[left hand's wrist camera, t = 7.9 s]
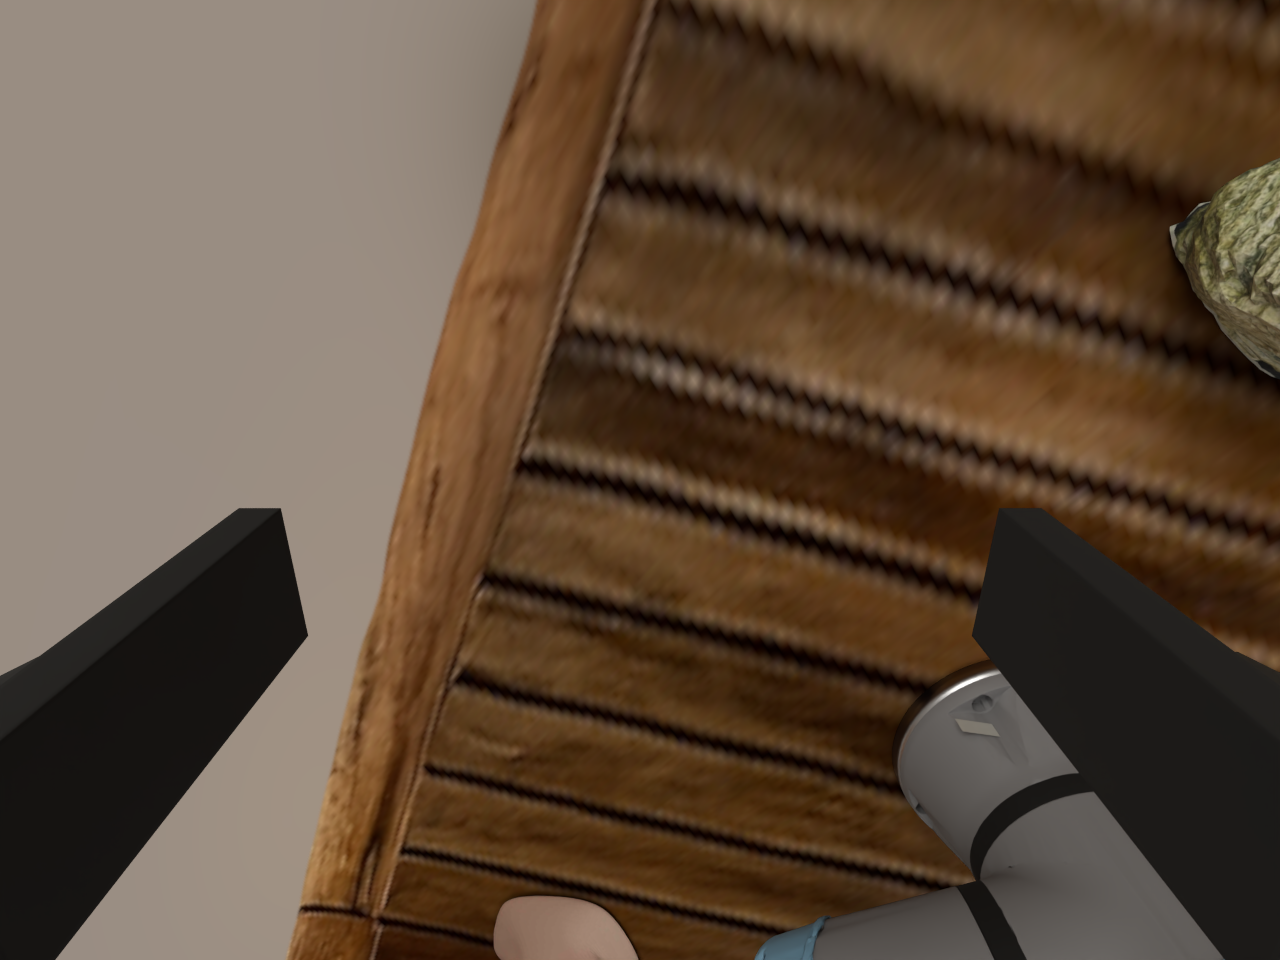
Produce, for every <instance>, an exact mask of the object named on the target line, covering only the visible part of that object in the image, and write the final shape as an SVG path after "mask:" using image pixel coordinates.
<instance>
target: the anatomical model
mask: <svg viewBox="0 0 1280 960" xmlns="http://www.w3.org/2000/svg"><path fill="white" fill-rule="evenodd" d="M494 949H495V952H496V954H497V955H498V957H499V958H500V959H501V960H638V957H637V955H636V952H635V950H634V948H633V946H632V944H631V943H630V941H629V939H628V938H627V936H626V934H625V933H624V931H623V930H622V928H621V927H620V926H619V924H618V923H617V922H616V921H615V919H614V918H613V917H612V916H611V915H610V914H609V913H608V912H606V911H605V910H604V909H603V908H601V907H599V906H597V905H596V904H593V903H591V902H588V901H584V900H580V899H575V898H568V897H559V896H524V897H517V898H513V899H511V900H508V901H507V902H506V903H504V904H503V906H502V907H501V909H500V911H499V914H498V917H497V921H496V925H495V929H494Z"/></svg>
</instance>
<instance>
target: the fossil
mask: <svg viewBox="0 0 1280 960" xmlns="http://www.w3.org/2000/svg"><path fill="white" fill-rule="evenodd" d="M1170 234H1171V239H1172V244H1173V248H1174V251H1175V254H1176V257H1177V258H1178V260H1179V261H1180V262H1181V263H1182V264H1183V266H1184V268H1185V270H1186V272H1187V275H1188V277H1189V280H1190V283H1191V286H1192V289H1193V291H1194V292H1195V293H1196V295H1197V297H1198V298H1199V299H1200V300H1201V301H1202V302H1203V304H1204V305H1205V307H1206V308H1207V309H1208V310H1209V311H1210V312H1211V313H1212V314H1213V315H1214V317H1215V319H1216V321H1217V322H1218V324H1219V326H1220V328H1221V330H1222V331H1223V332H1224V333H1225V334H1226V336H1227V337H1228V338H1229V339H1230V340H1231V341H1232V342H1233V343H1234V344H1235V345H1236V347H1237V348H1238V349H1239V350H1240V351H1241V352H1242V353H1243V354H1244V355H1245V356H1246V357H1247V358H1248V359H1249V360H1250V361H1251V362H1252V363H1254V364H1255V365H1256V366H1257V367H1258V368H1259V369H1260V370H1262V371H1263V372H1265V373H1267V374H1268V375H1270V376H1272V377H1275V378H1277V379H1280V158H1279V159H1276V160H1274V161H1271V162H1269V163H1267V164H1265V165H1263V166H1261V167H1258V168H1253V169H1250V170H1248V171H1246V172H1245V173H1243V174H1241V175H1240V176H1238V177H1236V178H1234V179H1233V180H1231V181H1229V182H1227V183H1226V184H1225V185H1224V186H1223V187H1221V188H1220V189H1219V190H1218V191H1217V192H1216V193H1215V194H1214V195H1213V197H1212V199H1211V202H1206V203H1201V204H1199V205H1198V206H1197V207H1196V208H1195V209H1194V210H1193V211H1192V212H1191V213H1190V214H1189V216H1188V217H1187V218H1186V219H1185V220H1184V222H1181V223H1178V224H1176V225H1173V226H1170Z"/></svg>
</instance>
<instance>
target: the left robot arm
mask: <svg viewBox="0 0 1280 960" xmlns="http://www.w3.org/2000/svg"><path fill="white" fill-rule="evenodd" d="M307 636H308V633H307V628H306V624H305V619H304V614H303V610H302V605H301V600H300V596H299V591H298V587H297V582H296V577H295V573H294V568H293V563H292V559H291V554H290V549H289V545H288V540H287V535H286V531H285V526H284V521H283V517H282V512H281V508H239V509H237V510H236V511H235V512H233V513H232V514H231V515H229V516H228V517H226V518H225V519H224V520H222V521H221V522H220V523H218V524H217V525H216V526H214V527H213V528H212V529H210V530H209V531H208V532H206V533H205V534H204V535H202V536H201V537H200V538H198V539H197V540H195V541H194V542H193V543H191V544H190V545H189V546H187V547H186V548H185V549H183V550H182V551H181V552H179V553H178V554H177V555H175V556H174V557H173V558H171V559H170V560H169V561H167V562H166V563H164V564H163V565H162V566H160V567H159V568H158V569H156V570H155V571H154V572H152V573H151V574H150V575H148V576H147V577H146V578H144V579H143V580H142V581H140V582H139V583H138V584H136V585H135V586H134V587H132V588H131V589H130V590H128V591H127V592H125V593H124V594H123V595H121V596H120V597H119V598H117V599H116V600H115V601H113V602H112V603H111V604H109V605H108V606H107V607H105V608H104V609H103V610H101V611H100V612H99V613H97V614H96V615H95V616H93V617H92V618H90V619H89V620H88V621H86V622H85V623H84V624H82V625H81V626H80V627H78V628H77V629H76V630H74V631H73V632H72V633H70V634H69V635H68V636H66V637H65V638H63V639H62V640H61V641H59V642H58V643H57V644H55V645H54V646H53V647H51V648H50V649H49V650H47V651H46V652H45V653H43V654H42V655H41V656H39V657H37V658H35V659H33V660H31V661H29V662H27V663H25V664H23V665H21V666H19V667H17V668H15V669H13V670H11V671H9V672H7V673H5V674H3V675H1V676H0V960H55V959H56V958H57V957H58V955H59V954H60V953H61V952H62V950H63V949H64V948H65V947H66V945H67V944H68V943H69V941H70V940H71V939H72V938H73V936H74V935H75V934H76V932H77V931H78V930H79V929H80V927H81V926H82V925H83V923H84V922H85V921H86V920H87V918H88V917H89V916H90V915H91V913H92V912H93V911H94V909H95V908H96V907H97V906H98V904H99V903H100V902H101V900H102V899H103V898H104V897H105V895H106V894H107V893H108V891H109V890H110V889H111V888H112V886H113V885H114V884H115V882H116V881H117V880H118V879H119V877H120V876H121V875H122V874H123V872H124V871H125V870H126V868H127V867H128V866H129V865H130V863H131V862H132V861H133V859H134V858H135V857H136V856H137V854H138V853H139V852H140V850H141V849H142V848H143V847H144V845H145V844H146V843H147V841H148V840H149V839H150V838H151V836H152V835H153V834H154V832H155V831H156V830H157V829H158V827H159V826H160V825H161V824H162V822H163V821H164V820H165V818H166V817H167V816H168V815H169V813H170V812H171V811H172V809H173V808H174V807H175V805H176V804H177V803H178V802H179V800H180V799H181V798H182V797H183V795H184V794H185V793H186V791H187V790H188V789H189V788H190V786H191V785H192V784H193V783H194V781H195V780H196V779H197V777H198V776H199V775H200V774H201V772H202V771H203V770H204V768H205V767H206V766H207V765H208V763H209V762H210V761H211V759H212V758H213V757H214V756H215V754H216V753H217V752H218V751H219V749H220V748H221V747H222V745H223V744H224V743H225V742H226V740H227V739H228V738H229V736H230V735H231V734H232V733H233V731H234V730H235V729H236V727H237V726H238V725H239V724H240V722H241V721H242V720H243V718H244V717H245V716H246V715H247V713H248V712H249V711H250V710H251V708H252V707H253V706H254V704H255V703H256V702H257V701H258V699H259V698H260V697H261V695H262V694H263V693H264V692H265V690H266V689H267V688H268V686H269V685H270V684H271V683H272V681H273V680H274V679H275V677H276V676H277V675H278V674H279V672H280V671H281V670H282V669H283V667H284V666H285V665H286V663H287V662H288V661H289V660H290V658H291V657H292V656H293V654H294V653H295V652H296V650H297V649H298V648H299V647H300V645H301V644H302V643H303V642H304V640H305V639H306V638H307ZM972 636H973V638H974V639H975V640H976V642H977V643H978V644H979V645H980V647H981V648H982V649H983V651H984V652H985V653H986V654H987V656H988V657H989V658H990V660H986V661H982V662H979V663H976V664H972V665H970V666H967V667H965V668H962V669H960V670H958V671H956V672H954V673H952V674H950V675H948V676H946V677H945V678H943V679H941V680H940V681H938V682H937V683H935V684H934V685H933V686H931V687H930V688H929V689H928V690H926V691H925V692H924V693H923V694H922V695H921V696H920V697H919V698H918V699H917V700H916V701H915V702H914V703H913V705H912V706H911V707H910V708H909V710H908V711H907V712H906V714H905V715H904V717H903V719H902V721H901V722H900V724H899V727H898V729H897V731H896V735H895V738H894V742H893V749H892V761H893V767H894V772H895V774H896V777H897V780H898V782H899V784H900V786H901V789H902V791H903V793H904V795H905V797H906V799H907V801H908V802H909V804H910V805H911V807H912V808H913V809H914V811H915V812H916V813H917V815H918V816H919V817H920V818H921V819H922V820H923V821H924V822H925V823H926V824H927V825H928V826H929V827H930V828H932V829H933V830H934V831H935V833H936V834H937V835H938V836H939V838H940V839H941V840H942V841H943V842H944V843H945V844H946V845H947V846H948V847H949V848H950V849H951V850H952V851H953V852H954V853H955V854H956V855H957V856H958V857H959V859H960V860H961V861H962V862H963V863H964V864H965V865H966V866H967V867H968V868H969V869H970V870H971V872H972V874H973V876H974V878H975V879H976V881H975V882H971V883H967V884H963V885H959V886H956V887H955V886H954V887H950V888H946V889H942V890H938V891H935V892H931V893H927V894H923V895H919V896H915V897H912V898H908V899H904V900H900V901H896V902H892V903H889V904H885V905H881V906H877V907H873V908H869V909H866V910H862V911H858V912H854V913H850V914H846V915H842V916H838V917H833V918H831V916H823V917H820V918H818V919H817V920H816V922H815V923H812V924H809V925H806V926H803V927H800V928H797V929H794V930H791V931H788V932H785V933H783V934H779V935H776V936H774V937H772V938H770V939H769V940H767V941H766V942H765V943H764V944H763V945H762V947H761V948H760V949H759V951H758V953H757V955H756V957H755V959H754V960H1280V673H1279V672H1277V671H1275V670H1273V669H1271V668H1269V667H1267V666H1265V665H1263V664H1261V663H1259V662H1257V661H1255V660H1253V659H1251V658H1249V657H1247V656H1245V655H1243V654H1241V653H1239V652H1234V651H1233V650H1231V649H1230V648H1229V647H1227V646H1226V645H1225V644H1223V643H1222V642H1221V641H1219V640H1218V639H1217V638H1215V637H1214V636H1212V635H1211V634H1210V633H1208V632H1207V631H1206V630H1204V629H1203V628H1202V627H1200V626H1199V625H1198V624H1196V623H1195V622H1194V621H1192V620H1191V619H1190V618H1188V617H1187V616H1186V615H1184V614H1183V613H1182V612H1180V611H1179V610H1177V609H1176V608H1175V607H1173V606H1172V605H1171V604H1169V603H1168V602H1167V601H1165V600H1164V599H1163V598H1161V597H1160V596H1159V595H1157V594H1156V593H1155V592H1153V591H1152V590H1151V589H1149V588H1148V587H1146V586H1145V585H1144V584H1142V583H1141V582H1140V581H1138V580H1137V579H1136V578H1134V577H1133V576H1132V575H1130V574H1129V573H1128V572H1126V571H1125V570H1124V569H1122V568H1121V567H1120V566H1118V565H1117V564H1115V563H1114V562H1113V561H1111V560H1110V559H1109V558H1107V557H1106V556H1105V555H1103V554H1102V553H1101V552H1099V551H1098V550H1097V549H1095V548H1094V547H1093V546H1091V545H1090V544H1089V543H1087V542H1086V541H1085V540H1083V539H1082V538H1080V537H1079V536H1078V535H1076V534H1075V533H1074V532H1072V531H1071V530H1070V529H1068V528H1067V527H1066V526H1064V525H1063V524H1062V523H1060V522H1059V521H1058V520H1056V519H1055V518H1054V517H1052V516H1051V515H1049V514H1048V513H1047V512H1045V511H1044V510H1043V509H1041V508H999V512H998V517H997V521H996V526H995V531H994V535H993V540H992V545H991V549H990V554H989V559H988V563H987V568H986V573H985V577H984V582H983V587H982V591H981V596H980V600H979V605H978V610H977V614H976V619H975V624H974V628H973V633H972Z"/></svg>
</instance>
